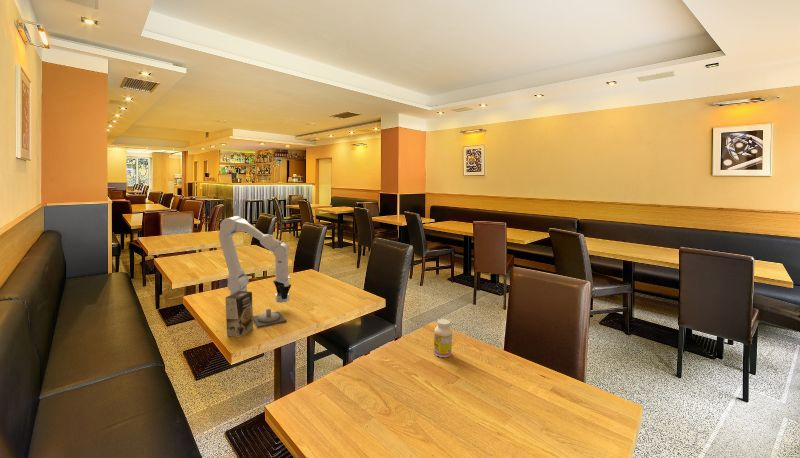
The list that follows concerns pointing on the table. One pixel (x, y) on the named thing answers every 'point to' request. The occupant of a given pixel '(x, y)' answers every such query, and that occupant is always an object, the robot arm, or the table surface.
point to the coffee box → (239, 313)
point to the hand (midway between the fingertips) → (282, 296)
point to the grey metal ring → (279, 298)
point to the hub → (268, 319)
